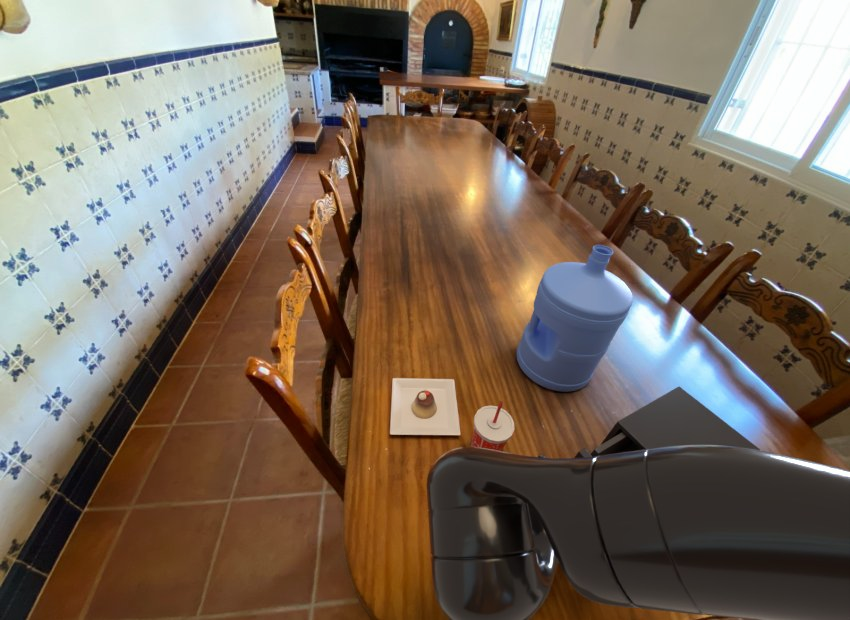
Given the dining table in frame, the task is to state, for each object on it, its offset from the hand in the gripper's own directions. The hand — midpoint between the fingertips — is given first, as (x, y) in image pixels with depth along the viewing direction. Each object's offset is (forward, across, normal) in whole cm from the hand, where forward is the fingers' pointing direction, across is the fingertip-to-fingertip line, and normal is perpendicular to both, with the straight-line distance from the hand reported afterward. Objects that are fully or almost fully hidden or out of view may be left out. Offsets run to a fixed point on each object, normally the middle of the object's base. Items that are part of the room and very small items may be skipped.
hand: (591, 506), depth 49 cm
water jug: (+17, +25, -9) cm, 32 cm away
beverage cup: (-1, +15, +8) cm, 17 cm away
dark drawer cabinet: (+16, 0, -9) cm, 18 cm away
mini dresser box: (+8, 0, -1) cm, 8 cm away
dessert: (-4, +27, +12) cm, 30 cm away
